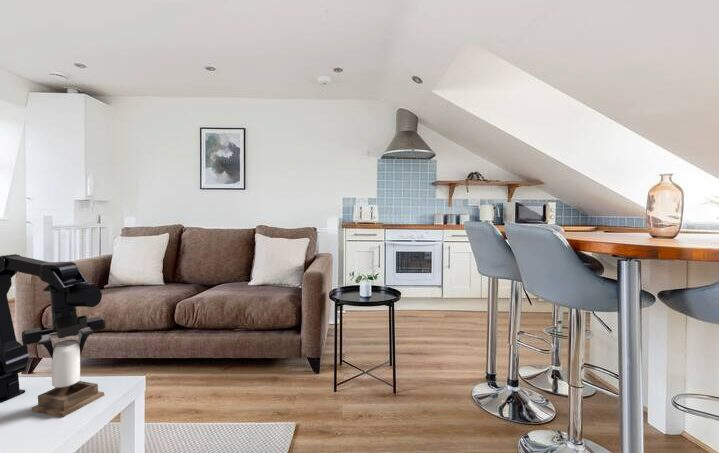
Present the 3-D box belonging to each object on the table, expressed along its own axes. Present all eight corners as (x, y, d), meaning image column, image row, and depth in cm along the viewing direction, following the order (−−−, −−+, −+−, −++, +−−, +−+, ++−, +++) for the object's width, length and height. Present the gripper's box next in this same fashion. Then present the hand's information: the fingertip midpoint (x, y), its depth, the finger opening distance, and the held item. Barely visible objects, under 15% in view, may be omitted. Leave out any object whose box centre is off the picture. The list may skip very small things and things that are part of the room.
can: (64, 389, 105) (63, 348, 104) (46, 386, 106) (45, 345, 106) (85, 379, 111) (85, 340, 111) (68, 377, 113) (68, 338, 112)
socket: (31, 410, 105) (30, 397, 105) (74, 390, 116) (74, 378, 116) (63, 417, 101) (62, 402, 101) (104, 395, 113) (103, 382, 113)
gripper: (22, 318, 96) (26, 377, 96) (108, 304, 109) (110, 356, 109) (19, 310, 103) (23, 365, 104) (100, 298, 117) (103, 346, 117)
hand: (67, 358), depth 109 cm, fingers closed on can, 5 cm apart
